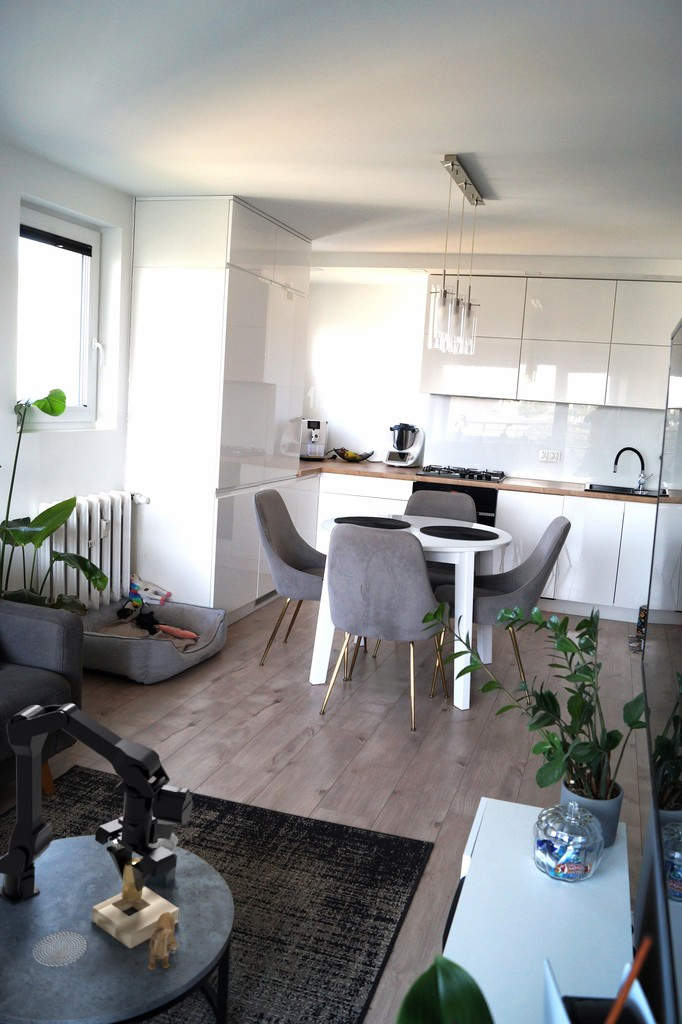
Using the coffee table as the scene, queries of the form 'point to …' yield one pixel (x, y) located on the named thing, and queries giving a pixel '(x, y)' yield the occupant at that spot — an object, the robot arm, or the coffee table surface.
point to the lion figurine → (162, 940)
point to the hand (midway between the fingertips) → (132, 886)
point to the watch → (169, 875)
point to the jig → (132, 916)
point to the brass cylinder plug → (130, 881)
